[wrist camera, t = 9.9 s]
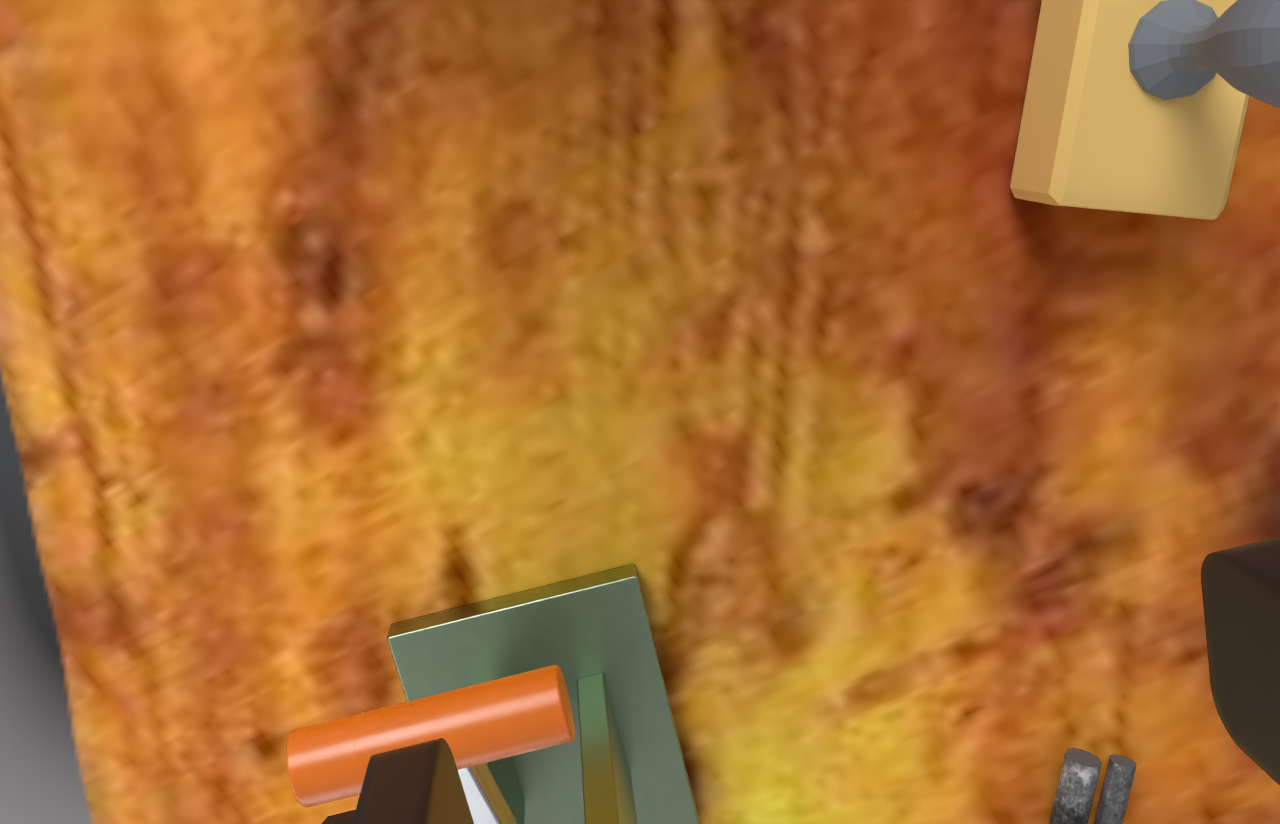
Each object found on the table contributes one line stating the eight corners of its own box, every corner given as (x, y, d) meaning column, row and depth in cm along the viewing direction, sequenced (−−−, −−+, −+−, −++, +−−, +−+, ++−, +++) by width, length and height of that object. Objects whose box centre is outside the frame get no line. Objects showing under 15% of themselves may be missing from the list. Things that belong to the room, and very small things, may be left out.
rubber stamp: (1165, 211, 39) (1424, 254, 28) (1004, 197, 39) (1199, 234, 27) (1229, -99, 37) (1543, -194, 25) (1058, -120, 36) (1298, -227, 25)
